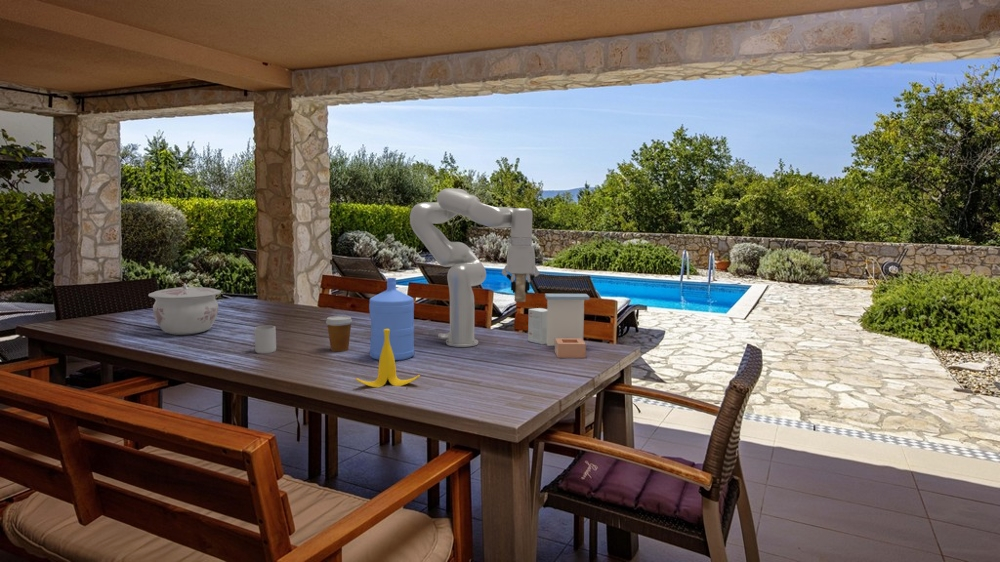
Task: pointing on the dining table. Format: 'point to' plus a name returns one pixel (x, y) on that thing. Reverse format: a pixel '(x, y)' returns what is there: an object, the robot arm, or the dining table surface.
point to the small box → (537, 325)
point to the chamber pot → (185, 309)
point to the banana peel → (387, 367)
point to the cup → (265, 339)
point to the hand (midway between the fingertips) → (520, 292)
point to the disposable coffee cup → (339, 332)
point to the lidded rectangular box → (565, 316)
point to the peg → (520, 287)
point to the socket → (570, 348)
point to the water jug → (392, 322)
